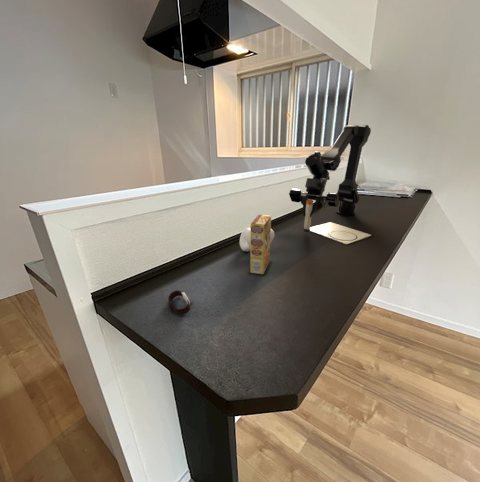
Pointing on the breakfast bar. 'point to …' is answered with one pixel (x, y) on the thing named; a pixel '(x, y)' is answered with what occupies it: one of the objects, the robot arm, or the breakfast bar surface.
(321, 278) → the breakfast bar surface
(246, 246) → the white rounded lump
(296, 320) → the breakfast bar surface
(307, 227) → the marker
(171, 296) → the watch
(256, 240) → the candy box
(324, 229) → the sketch pad
